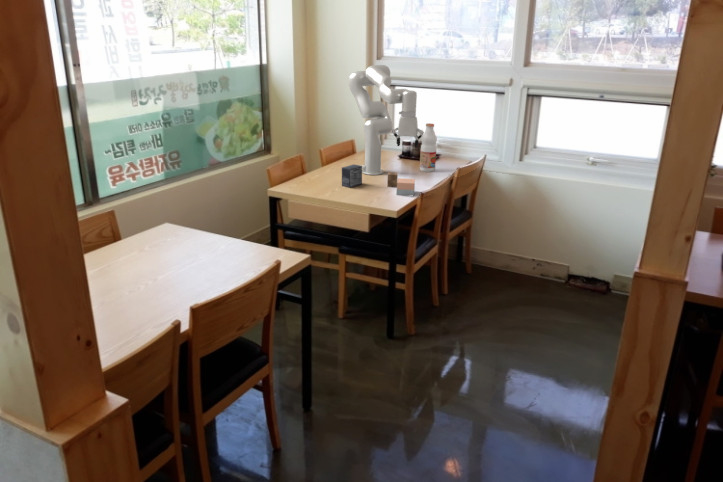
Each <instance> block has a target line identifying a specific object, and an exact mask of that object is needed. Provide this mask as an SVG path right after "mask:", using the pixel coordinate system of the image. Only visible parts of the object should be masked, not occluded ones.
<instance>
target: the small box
mask: <svg viewBox="0 0 723 482" xmlns="http://www.w3.org/2000/svg"><path fill="white" fill-rule="evenodd" d="M362 170H363V169H362V166H360V164H350V165H347V166H343V167H341V187H345V188H349V189H351V188H354V187H357V186H358V187H359V186H362V185H363V173H362Z"/></svg>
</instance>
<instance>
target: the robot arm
mask: <svg viewBox="0 0 723 482" xmlns="http://www.w3.org/2000/svg"><path fill="white" fill-rule="evenodd" d="M391 85H392V78H391V70H390V68H389V66H387V65H385V64H373V65H369V66H368V67H367V68H366V69H365V70H360V71H359V70H358V71H357V70H356V71H354V72H352V73H351V74H350V75H349V78H348V87H349V90H350V92H351V94H352V96H353V97H354V99H355V102H356V104H357V107H358V111H359V112H360V115H361V117H362V118H364V119H367V120H366V121H365V122H364V123H363V133H364V164H362V165H360V164H359V165H360V166H362V175H369V176H381V175H382V174H383V173H384V170H382V169H381V165H382V161H381V160H382V141H381V139H380V137H379V136H382V135H388V134H391V132H392V135H393V136H394V137H395V138H396V146H397V147H400V145H401V138H400V137H410V138H411V137H413V138H414V139H415V140H414V148H417V147H418V146H419V140H421V139H422V136H423V135H424V133H425V131H423V130H421V129H420V128H418V126H419V125H418V118H417V116H416V114H417V98H418V95H417V92H416V91H415V90H409V89H406V88H395V89H394V88H393V89H391V88H390V86H391ZM369 86H370V87H372V86H373V87H374V86H376V87H377V88H378V94H379V97H380V98H381V99H382V100H383V101H384V102H386V103H388V104H390V105H394V104H395V105H396V104H401V111H399V112H398V114H399V115H400V117H399V119H398V127H396V128H394V129H393V123H392V119H391V117H390V114H389V111H388V109H387V105H386V104H384V102H382V101H380V100H376V101H375V100H374V101H373V100H372V99H371V98H372V97H371V96H370V94H369V92H368V90H366V88H364V87H369ZM396 131H397V132H396ZM418 133H420V134H419V135H418Z"/></svg>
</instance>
